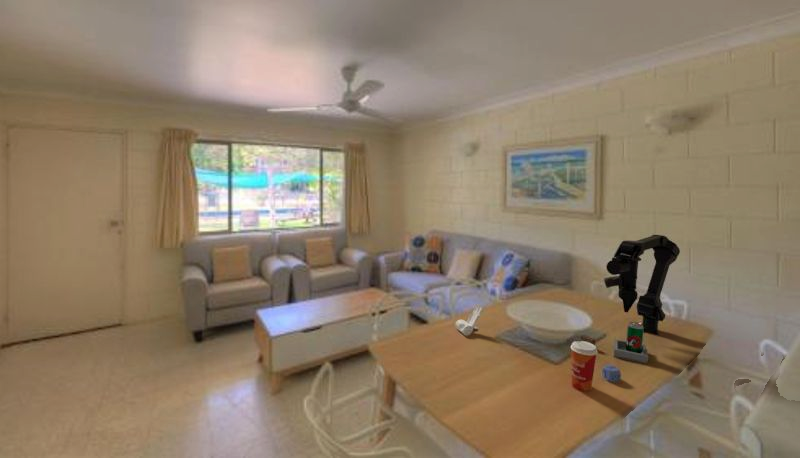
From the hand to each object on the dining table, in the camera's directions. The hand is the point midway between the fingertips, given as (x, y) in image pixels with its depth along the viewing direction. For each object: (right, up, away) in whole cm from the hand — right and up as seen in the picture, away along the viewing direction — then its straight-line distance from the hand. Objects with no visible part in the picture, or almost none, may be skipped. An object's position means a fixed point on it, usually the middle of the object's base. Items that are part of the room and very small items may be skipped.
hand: (625, 308), depth 147 cm
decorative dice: (-23, -17, -28) cm, 40 cm away
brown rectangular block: (-19, -14, -6) cm, 24 cm away
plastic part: (-63, -12, +10) cm, 65 cm away
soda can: (-5, -15, -13) cm, 20 cm away
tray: (-6, -15, -12) cm, 20 cm away
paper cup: (-35, -18, -33) cm, 51 cm away
